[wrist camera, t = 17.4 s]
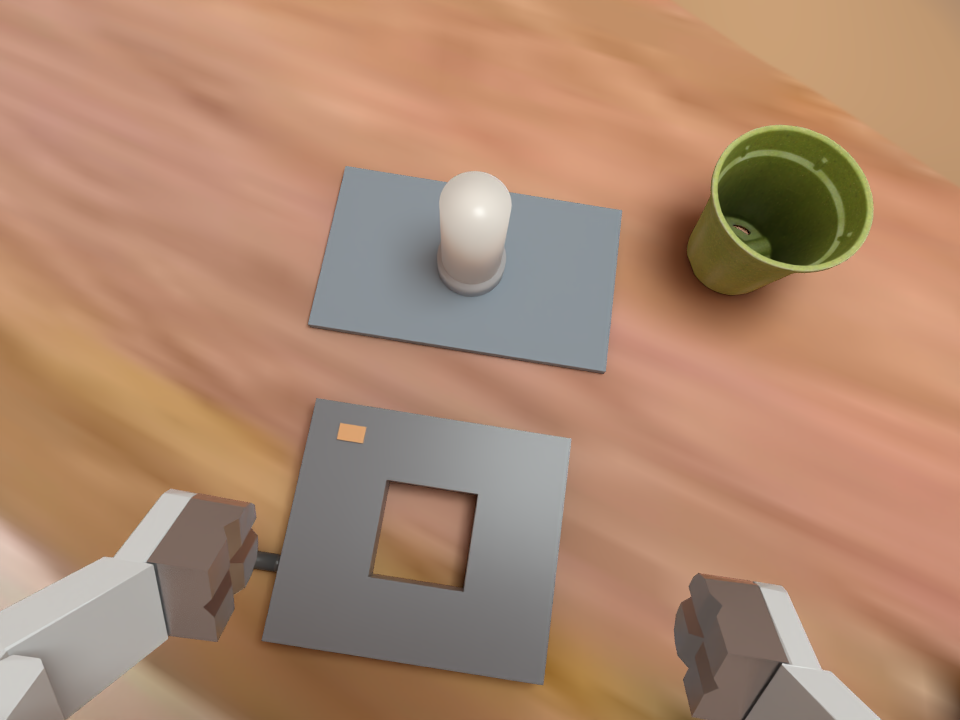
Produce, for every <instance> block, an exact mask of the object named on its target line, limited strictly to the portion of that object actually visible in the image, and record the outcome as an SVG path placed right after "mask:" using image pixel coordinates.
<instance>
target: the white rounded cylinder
mask: <svg viewBox="0 0 960 720" xmlns="http://www.w3.org/2000/svg"><path fill="white" fill-rule="evenodd" d="M511 207H512V203H511V196H510V194H509V191H508V189H507V188H506V186H505V185H504V184H503V183H502V182H501V181H500V180H499V179H498V178H496V177H494V176H493V175H490V174H488V173H485V172H479V171H470V172H465V173H461V174H459V175H457V176H455V177H454V178H452V179H451V180H450V181H449V182H448V183H447V184H446V185H445V186H444V188H443V190H442V192H441V195H440V200H439V209H440V231H441V242H440V245H439V247H438V251H437V264H438V272H439V275H440V278H441V280H442V281H443V283H444V284H445V285H446V286H447V287H448V288H449V289H450V290H451V291H453V292H455V293H457V294H459V295H462V296H468V297H475V296H481V295H484V294H486V293H488V292H490V291H491V290H493V289H494V288H495V287H496V286H497V285H498V284H499V282H500V281H501V279H502V276H503V273H504V268H505V264H506V251H505V247H504V245H505V240H506V234H507V229H508V224H509V219H510V213H511Z"/></svg>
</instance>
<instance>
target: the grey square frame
mask: <svg viewBox="0 0 960 720" xmlns="http://www.w3.org/2000/svg"><path fill="white" fill-rule="evenodd" d="M570 447H571V439H570V438H564V437H557V436H551V435H545V434H539V433H532V432H526V431H520V430H513V429H507V428H501V427H495V426H488V425H482V424H476V423H469V422H463V421H457V420H450V419H444V418H438V417H432V416H425V415H419V414H413V413H406V412H400V411H394V410H388V409H381V408H375V407H369V406H362V405H356V404H350V403H344V402H337V401H331V400H325V399H318V398H317V399H316V403H315V407H314V412H313V416H312V421H311V425H310V429H309V434H308V438H307V443H306V447H305V452H304V456H303V460H302V465H301V469H300V474H299V478H298V482H297V487H296V491H295V496H294V500H293V504H292V509H291V513H290V518H289V522H288V526H287V531H286V535H285V540H284V544H283V549H282V553H281V555H280V554H274V553H267V552H261V551H257V558H256V561H255V565H254V569H261V570H267V571H273V572H277V575H276V579H275V584H274V588H273V593H272V597H271V601H270V606H269V610H268V615H267V619H266V623H265V628H264V632H263V637H262V641H266V642H272V643H279V644H285V645H291V646H298V647H304V648H310V649H317V650H323V651H329V652H336V653H342V654H348V655H355V656H361V657H367V658H374V659H380V660H386V661H393V662H399V663H405V664H412V665H418V666H424V667H431V668H437V669H443V670H450V671H456V672H463V673H469V674H475V675H482V676H488V677H494V678H501V679H507V680H513V681H520V682H526V683H532V684H539V685H543V683H544V674H545V665H546V657H547V648H548V639H549V630H550V622H551V613H552V604H553V595H554V587H555V578H556V569H557V560H558V552H559V543H560V534H561V525H562V517H563V508H564V499H565V490H566V482H567V473H568V464H569V455H570ZM390 481H391V482H398V483H404V484H410V485H416V486H423V487H429V488H435V489H442V490H448V491H454V492H461V493H467V494H473V495H477V499H476V506H475V512H474V519H473V526H472V532H471V539H470V545H469V552H468V559H467V565H466V572H465V579H464V585H463V588H461V587H454V586H448V585H442V584H435V583H429V582H423V581H416V580H410V579H404V578H397V577H391V576H385V575H379V574H373V569H374V563H375V558H376V553H377V547H378V542H379V537H380V532H381V526H382V521H383V516H384V510H385V505H386V500H387V494H388V489H389V484H390Z"/></svg>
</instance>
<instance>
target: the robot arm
mask: <svg viewBox="0 0 960 720" xmlns="http://www.w3.org/2000/svg"><path fill="white" fill-rule="evenodd" d="M255 520H256V511H255V505H254V504H252V503H248V502H243V501H238V500H232V499H227V498H221V497H216V496H211V495H205V494H200V493H198V494H197V493H192V492H186V491H181V490H175V489H170V490H168V491H166V492H165V493H163V494H162V495H161V496H160V498H159V499H158V500H157V502H156V503H155V504H154V505H153V507H152V508H151V509H150V511H149V512H148V513H147V514H146V516H145V517H144V518H143V520H142V521H141V522H140V523H139V525H138V526H137V527H136V529H135V530H134V531H133V532H132V534H131V535H130V536H129V538H128V539H127V540H126V541H125V543H124V544H123V545H122V547H121V548H120V549H119V550H118V552H117V553H116V554H115V556H114V557H113V558H111V557H103V558H101V559H99V560H97V561H95V562H93V563H91V564H89V565H87V566H86V567H84V568H82V569H80V570H78V571H76V572H74V573H72V574H70V575H68V576H66V577H65V578H63V579H61V580H59V581H57V582H55V583H53V584H51V585H49V586H47V587H45V588H44V589H42V590H40V591H38V592H36V593H34V594H32V595H30V596H28V597H26V598H24V599H23V600H21V601H19V602H17V603H15V604H13V605H11V606H9V607H7V608H5V609H3V610H2V611H0V720H66V719H68V718H69V717H70V716H71V715H73V714H74V713H75V712H76V711H78V710H79V709H80V708H81V707H83V706H84V705H85V704H86V703H88V702H89V701H90V700H92V699H93V698H94V697H95V696H97V695H98V694H99V693H100V692H102V691H103V690H104V689H105V688H107V687H108V686H109V685H110V684H112V683H113V682H114V681H116V680H117V679H118V678H119V677H121V676H122V675H123V674H124V673H126V672H127V671H128V670H129V669H131V668H132V667H133V666H134V665H136V664H137V663H138V662H140V661H141V660H142V659H143V658H145V657H146V656H147V655H148V654H150V653H151V652H152V651H153V650H155V649H156V648H157V647H158V646H160V645H161V644H162V643H163V642H165V641H166V640H167V639H168V636H175V637H183V638H190V639H198V640H206V641H214V642H218V640H219V638H220V636H221V634H222V632H223V630H224V628H225V626H226V624H227V622H228V621H229V619H230V617H231V615H232V613H233V611H234V609H235V608H234V598H233V595H234V594H236V593H237V592H239V591H240V590H242V589H243V588H245V587H246V585H247V583H248V580H249V578H250V576H251V574H252V571H253V568H254V565H255V561H256V558H257V551H258V535H257V534H256V533H255V532H254V531H253V530H252V529H251V527H252V525H253V523H254V521H255ZM689 590H690V593H691V597H690V598H688V599H686V600H685V601H683V602H681V604H680V606H679V609H678V611H677V613H676V618H675V626H674V636H675V645H676V650H677V654H678V656H679V658H680V659H681V660H682V661H683V662H684V663H685V665H686V666H687V667H688V668H689V669H688V671H687V673H686V675H685V677H684V679H683V681H684V686H685V690H686V694H687V698H688V703H689V707H690V711H691V716H692V717H696V718H702V719H707V720H881V719H880V718H879V717H878V716H877V715H876V714H875V713H874V712H873V711H872V710H871V709H870V708H869V707H867V706H866V705H865V704H864V703H863V702H862V701H861V700H860V699H859V698H858V697H857V696H856V695H855V694H854V693H853V692H852V691H851V690H850V689H849V688H848V687H847V686H845V685H844V684H843V683H842V682H841V681H840V680H839V679H838V678H837V677H836V676H835V675H834V674H833V673H832V672H831V671H826V670H822V668H821V666H820V664H819V662H818V660H817V657H816V655H815V653H814V651H813V648H812V646H811V644H810V642H809V639H808V637H807V635H806V633H805V631H804V628H803V626H802V624H801V622H800V619H799V617H798V615H797V613H796V610H795V608H794V606H793V604H792V602H791V599H790V597H789V595H788V593H787V591H786V590H785V589H784V588H783V587H782V586H780V585H774V584H767V583H761V582H751V581H749V580H742V579H735V578H728V577H722V576H715V575H708V574H701V573H698V574H697V575H695V576H694V577H693V579H692V581H691V583H690V585H689Z"/></svg>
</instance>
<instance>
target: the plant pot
mask: <svg viewBox="0 0 960 720" xmlns="http://www.w3.org/2000/svg"><path fill="white" fill-rule="evenodd" d="M872 220H873V198H872V193H871V190H870V187H869V183H868V181H867V179H866V177H865V174H864V173H863V171H862V169H861V168H860V166H859V165H858V164H857V162H856V161H855V160H854V159H853V157H852V156H851V155H850V154H849V153H848V152H847V151H846V150H845V149H843V148H842V147H841V146H840V145H838V144H837V143H835V142H834V141H833V140H831V139H830V138H828V137H826V136H824V135H822V134H819V133H817V132H815V131H812V130H809V129H806V128H802V127H797V126H788V125H772V126H765V127H761V128H757V129H754V130H752V131H749V132H747V133H745V134H744V135H742V136H740V137H739V138H737V139H736V140H734V141H733V142H732V143H731V144H730V145H729V146H728V147H727V148H726V149H725V151H724V152H723V153H722V155H721V157H720V158H719V160H718V162H717V164H716V166H715V169H714V172H713V175H712V181H711V195H710V198H709V200H708V202H707V204H706V206H705V208H704V210H703V212H702V214H701V216H700V218H699V220H698V222H697V224H696V226H695V228H694V230H693V232H692V233H691V235H690V238H689V241H688V245H687V256H688V258H689V261H690V263H691V266H692V269H693V272H694V274H695V276H696V277H697V278H698V279H699V280H700V281H701V282H702V283H703V284H704V285H705V286H707V287H708V288H710V289H712V290H714V291H716V292H719V293H722V294H727V295H739V294H745V293H749V292H752V291H754V290H756V289H759V288H761V287H763V286H765V285H767V284H769V283H772V282H774V281H776V280H779V279H781V278H783V277H786V276H788V275H790V274H793V273H810V272H818V271H823V270H826V269H829V268H832V267H834V266H837V265H839V264H841V263H842V262H844V261H846V260H847V259H849V258H850V257H851V256H852V255H854V254H855V253H856V252H857V251H858V250H859V248H860V247H861V246H862V244H863V243H864V241H865V240H866V238H867V236H868V233H869V231H870V228H871V225H872ZM733 225H739V226H742V227H744V228H746V229H747V230H748V231H749V232H750V235H747V234H746V233H744V232H743V231H741V230H739V229H737V228H736V227H733Z"/></svg>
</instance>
